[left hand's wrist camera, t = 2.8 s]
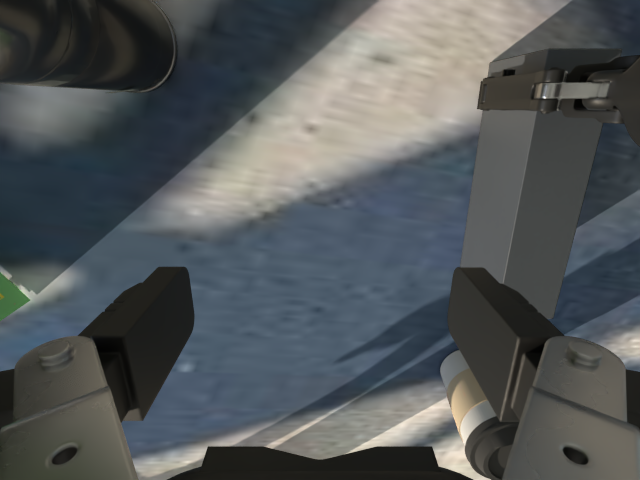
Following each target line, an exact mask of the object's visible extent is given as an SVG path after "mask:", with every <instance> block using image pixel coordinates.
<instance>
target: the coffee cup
mask: <svg viewBox="0 0 640 480" xmlns="http://www.w3.org/2000/svg"><path fill="white" fill-rule="evenodd" d="M440 373H441V377H442V380H443V383H444V386H445V389H446V391H447V398H448V401H449V404H450V407H451V410H452V413H453V416H454V419H455V422H456V425H457V428H458V431H459V434H460V437H461V439H462V441H463V442H464V445H465V454H466V457H467V459H468V461H469V462H470V464H471V466H472V468H473V469H474V470H475V471H476V472H477V473H479V474H480V475H482V476H484V477H486V478H489V479H491V480H502V477H503V474H504V471H505V467H506V464H507V461H508V458H509V454H510V451H511V448H512V445H513V442H514V438H515V435H516V432H517V429H518V425H519V422H500V421H499V419H498V417H497V416H496V414H495V412H494V410H493V409H492V407H491V405H490V403H489V401H488V400H487V398H486V396H485V394H484V393H483V391H482V389H481V387H480V385H479V384H478V382H477V380H476V378H475V377H474V375H473V373H472V371H471V370H470V368H469V366H468V364H467V362H466V361H465V359H464V357H463V355H462V354H461V352H460V350H458V351H455V352H453V353H451V354H450V355H449V356H447V357H446V358H445V360H444V361H443V363H442V365H441V368H440Z"/></svg>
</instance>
